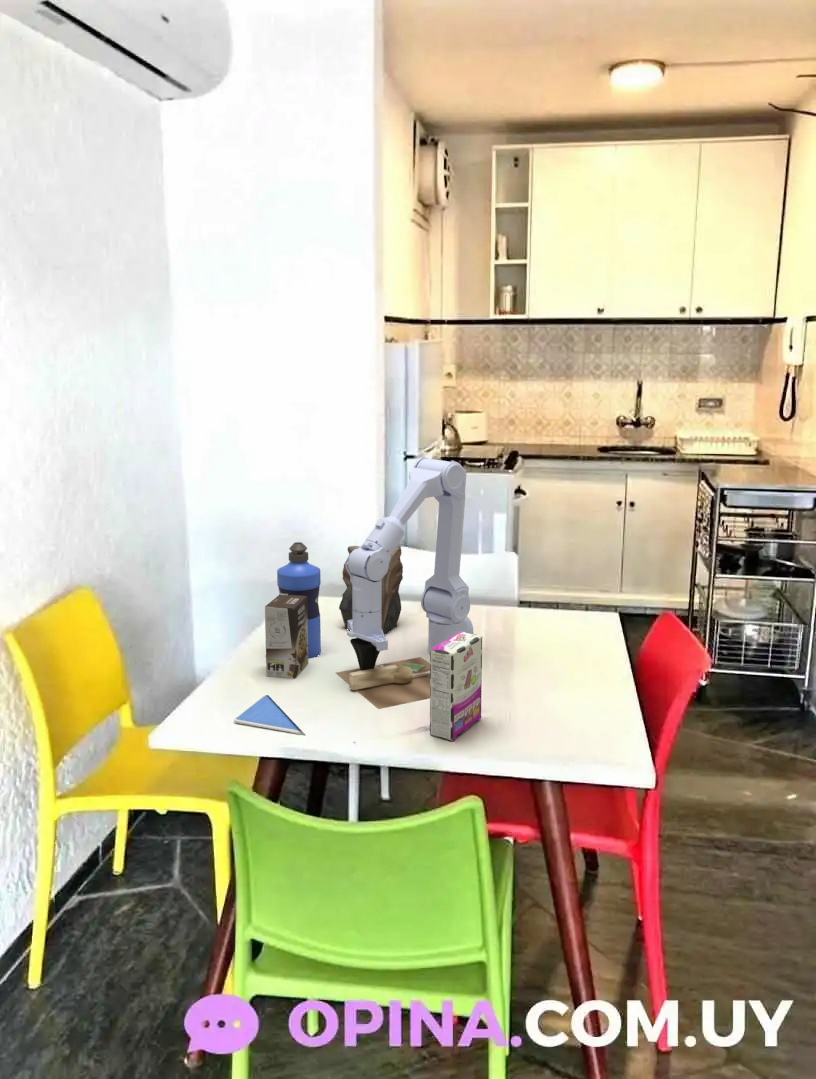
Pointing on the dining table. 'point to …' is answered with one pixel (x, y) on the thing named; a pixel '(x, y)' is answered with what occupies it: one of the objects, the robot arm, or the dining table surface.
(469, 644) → the candy bar box
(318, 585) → the water bottle
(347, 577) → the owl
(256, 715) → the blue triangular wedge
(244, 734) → the dining table surface
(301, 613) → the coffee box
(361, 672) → the dial lever
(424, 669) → the dial board
